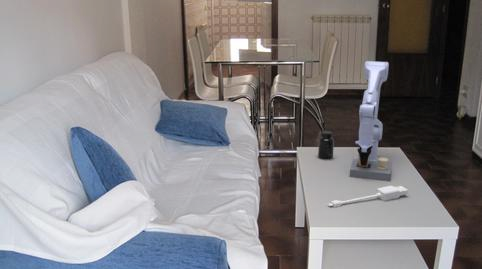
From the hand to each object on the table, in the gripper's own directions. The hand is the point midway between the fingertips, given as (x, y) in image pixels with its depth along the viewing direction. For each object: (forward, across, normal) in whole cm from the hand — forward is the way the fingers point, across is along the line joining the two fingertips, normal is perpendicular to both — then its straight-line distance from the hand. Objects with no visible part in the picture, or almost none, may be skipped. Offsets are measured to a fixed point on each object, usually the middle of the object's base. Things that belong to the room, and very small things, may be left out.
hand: (363, 163), depth 207 cm
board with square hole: (+4, 0, +3) cm, 5 cm away
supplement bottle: (+4, -14, -18) cm, 23 cm away
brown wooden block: (+3, 0, 0) cm, 3 cm away
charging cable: (+4, +29, +4) cm, 29 cm away
